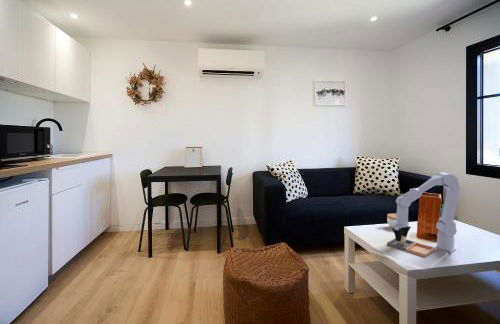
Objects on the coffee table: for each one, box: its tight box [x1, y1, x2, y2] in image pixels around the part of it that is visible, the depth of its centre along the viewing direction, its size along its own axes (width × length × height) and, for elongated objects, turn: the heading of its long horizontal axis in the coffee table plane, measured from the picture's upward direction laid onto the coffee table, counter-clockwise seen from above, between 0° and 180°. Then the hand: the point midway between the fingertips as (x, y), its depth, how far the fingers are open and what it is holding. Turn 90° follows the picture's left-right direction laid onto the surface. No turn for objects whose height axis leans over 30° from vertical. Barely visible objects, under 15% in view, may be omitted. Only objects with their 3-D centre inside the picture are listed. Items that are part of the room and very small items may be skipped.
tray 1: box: [386, 237, 416, 252], centre depth 148 cm, size 14×10×2 cm
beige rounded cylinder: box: [397, 236, 407, 246], centre depth 148 cm, size 4×4×5 cm
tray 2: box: [405, 241, 436, 258], centre depth 140 cm, size 14×10×2 cm
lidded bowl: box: [386, 212, 397, 229], centre depth 177 cm, size 13×13×11 cm
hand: (401, 239), depth 148 cm, fingers open, 7 cm apart
